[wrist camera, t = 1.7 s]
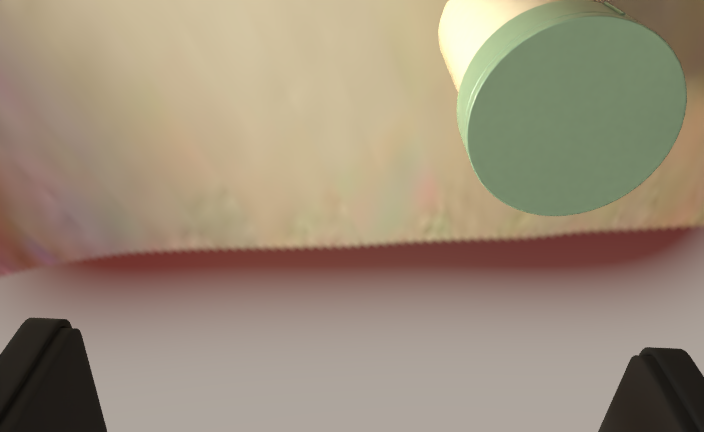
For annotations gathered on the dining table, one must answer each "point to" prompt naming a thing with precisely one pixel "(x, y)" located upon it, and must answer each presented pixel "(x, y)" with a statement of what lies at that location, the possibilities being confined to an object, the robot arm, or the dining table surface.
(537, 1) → the jar
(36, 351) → the robot arm
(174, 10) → the dining table surface
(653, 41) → the lid
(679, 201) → the dining table surface
